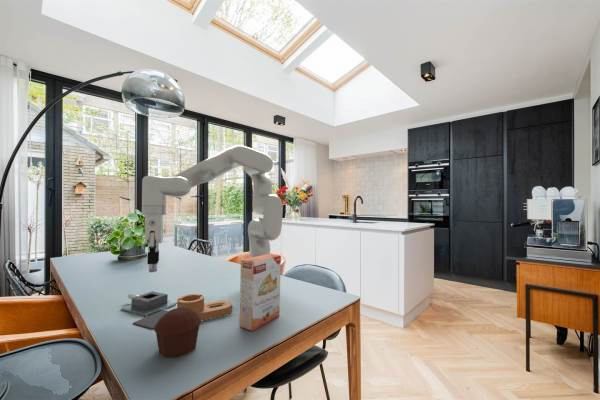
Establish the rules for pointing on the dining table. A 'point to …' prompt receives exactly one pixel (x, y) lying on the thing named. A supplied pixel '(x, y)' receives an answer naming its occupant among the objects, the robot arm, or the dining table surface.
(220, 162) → the robot arm
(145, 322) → the rubber mat
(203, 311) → the bracket
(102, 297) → the dining table surface
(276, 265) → the cracker box
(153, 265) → the small bottle
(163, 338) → the muffin
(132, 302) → the chuck block
